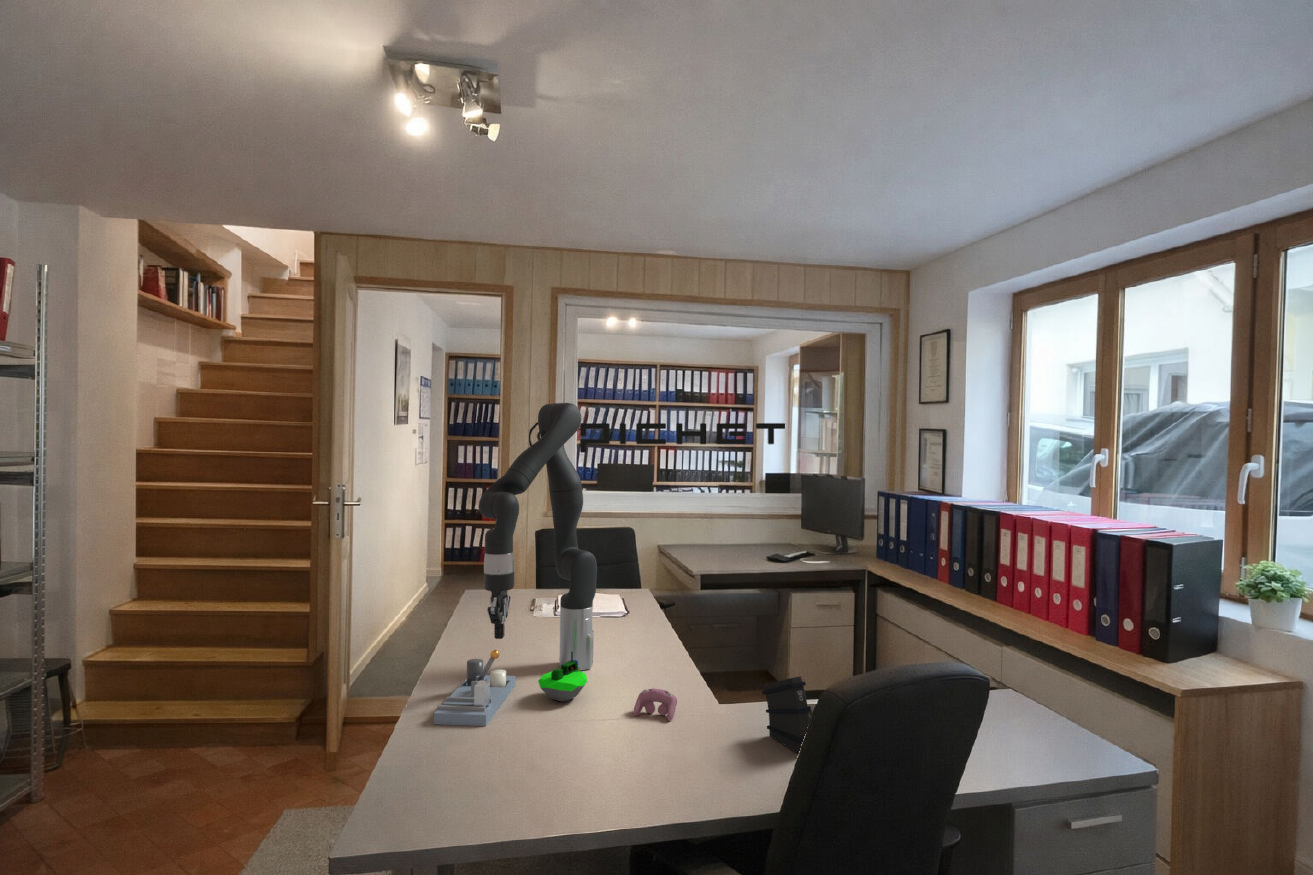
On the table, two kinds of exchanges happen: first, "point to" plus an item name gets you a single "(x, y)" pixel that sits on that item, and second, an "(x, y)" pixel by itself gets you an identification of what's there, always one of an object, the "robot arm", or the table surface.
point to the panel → (472, 704)
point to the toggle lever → (488, 664)
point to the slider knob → (482, 693)
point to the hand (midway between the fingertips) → (499, 637)
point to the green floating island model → (563, 681)
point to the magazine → (787, 711)
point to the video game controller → (656, 695)
